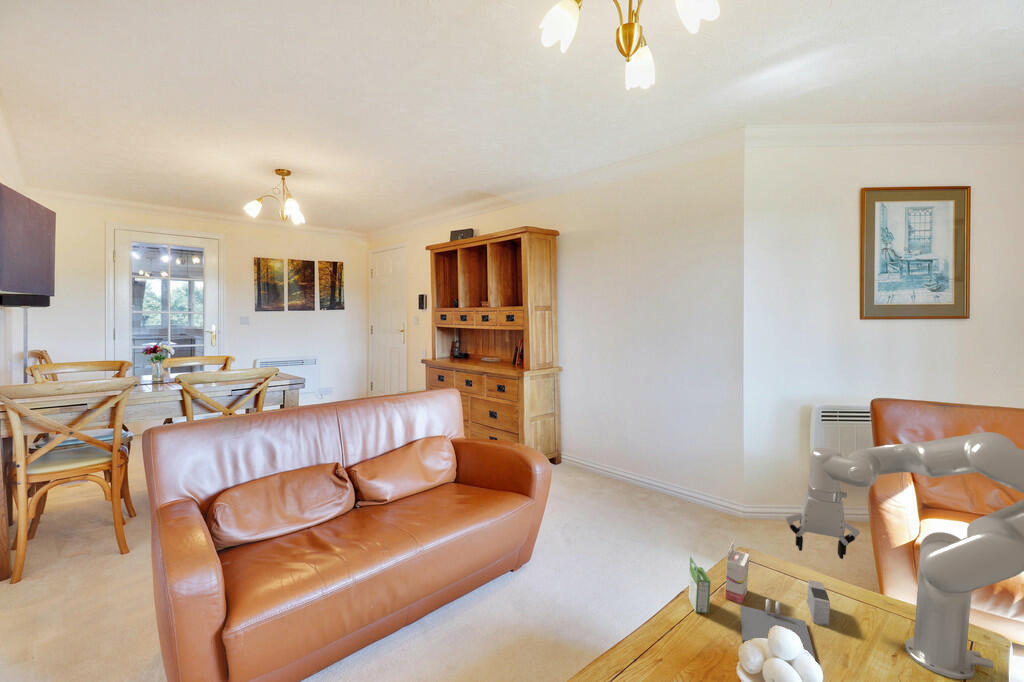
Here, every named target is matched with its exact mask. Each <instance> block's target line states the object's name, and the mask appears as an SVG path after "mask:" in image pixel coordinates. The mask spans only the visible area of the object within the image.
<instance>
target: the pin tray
mask: <svg viewBox="0 0 1024 682" xmlns="http://www.w3.org/2000/svg"><path fill="white" fill-rule="evenodd" d="M739 606H740V607H739V608H740V609H739V610H740V613H739V614H740V625H741V626H740V627H741V641H742V644H744V643H743V642H745V641H748V640H751V639H753V638H768V633H769V630H770V628H772V627H773V626H775V625H778V626H782V627H785V628H787V629H790V630H792V631H793V632H795V633H796V634H797V635H798V636H799V637H800V639H801V641H802V643H803V647H804V649H805V650H807V651H808V652H809V653H810V654H811V655H812V656H813V657H814V658H815V659H816V655H815V653H814V649H813V645H812V642H811V637H810V634H809V631H808V626H807V622H806V620H803V619H799V618H794V617H791V616H786V615H782V614H780V612H781V609H780V607H781V602H780V601H778V600H777V601H775V612H771V609H770V608H771V600H770V599H768V598H765V610H761V609H756V608H753V607H749V606H746V605H742V604H741V605H739Z"/></svg>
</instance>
